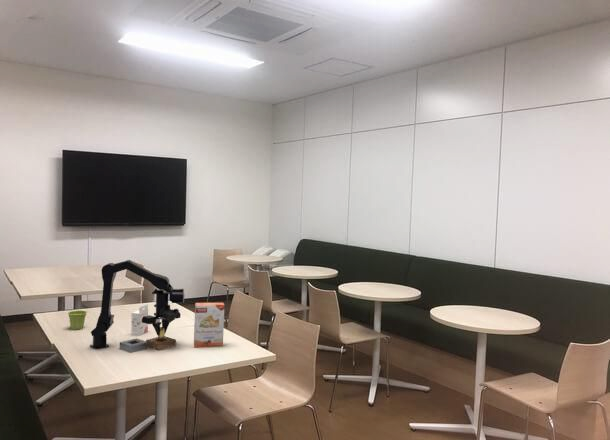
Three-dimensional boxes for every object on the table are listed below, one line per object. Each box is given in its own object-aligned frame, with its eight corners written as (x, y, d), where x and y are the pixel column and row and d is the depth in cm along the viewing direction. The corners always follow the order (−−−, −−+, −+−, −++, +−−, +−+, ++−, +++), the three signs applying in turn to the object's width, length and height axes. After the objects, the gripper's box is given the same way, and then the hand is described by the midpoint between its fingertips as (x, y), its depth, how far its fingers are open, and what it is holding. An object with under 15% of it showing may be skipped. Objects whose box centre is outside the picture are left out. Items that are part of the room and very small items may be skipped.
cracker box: (194, 348, 227) (195, 305, 226) (193, 344, 233) (194, 302, 232) (223, 346, 231) (224, 304, 230) (222, 343, 237) (223, 301, 236)
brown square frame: (145, 346, 227) (146, 339, 227) (163, 341, 235) (163, 335, 235) (158, 350, 221) (158, 344, 221) (175, 345, 229) (176, 339, 229)
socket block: (119, 348, 222) (119, 342, 222) (136, 344, 229) (136, 338, 229) (130, 352, 217) (131, 346, 217) (147, 348, 224) (147, 342, 224)
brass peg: (156, 343, 228) (156, 327, 228) (161, 342, 230) (162, 326, 230) (160, 345, 226) (160, 328, 226) (165, 343, 229) (166, 327, 228)
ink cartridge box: (139, 330, 253) (140, 303, 253) (148, 331, 252) (148, 304, 252) (130, 334, 245) (131, 306, 244) (139, 335, 244) (140, 307, 243)
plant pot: (90, 326, 257) (90, 311, 257) (80, 331, 248) (80, 315, 247) (74, 325, 258) (74, 310, 258) (63, 330, 249) (63, 314, 248)
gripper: (156, 308, 215) (155, 342, 216) (188, 302, 230) (187, 334, 231) (141, 304, 222) (140, 337, 222) (173, 299, 237) (172, 329, 237)
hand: (161, 334), depth 228 cm, fingers closed on brass peg, 3 cm apart
